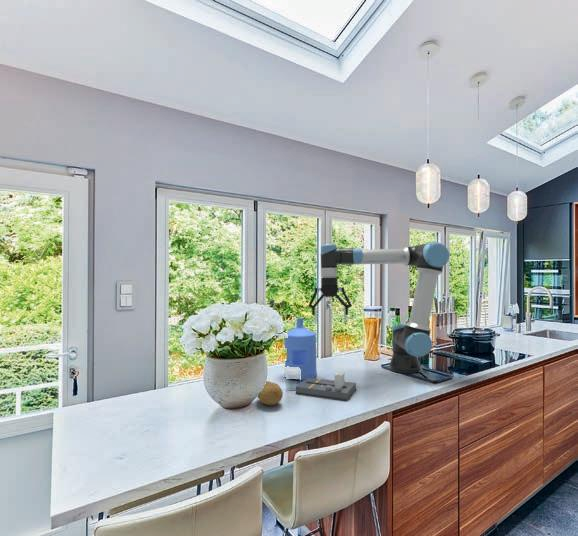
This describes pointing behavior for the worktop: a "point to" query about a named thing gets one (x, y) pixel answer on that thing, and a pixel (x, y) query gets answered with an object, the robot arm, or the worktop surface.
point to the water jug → (301, 350)
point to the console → (325, 389)
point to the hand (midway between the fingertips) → (330, 322)
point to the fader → (339, 379)
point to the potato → (270, 393)
